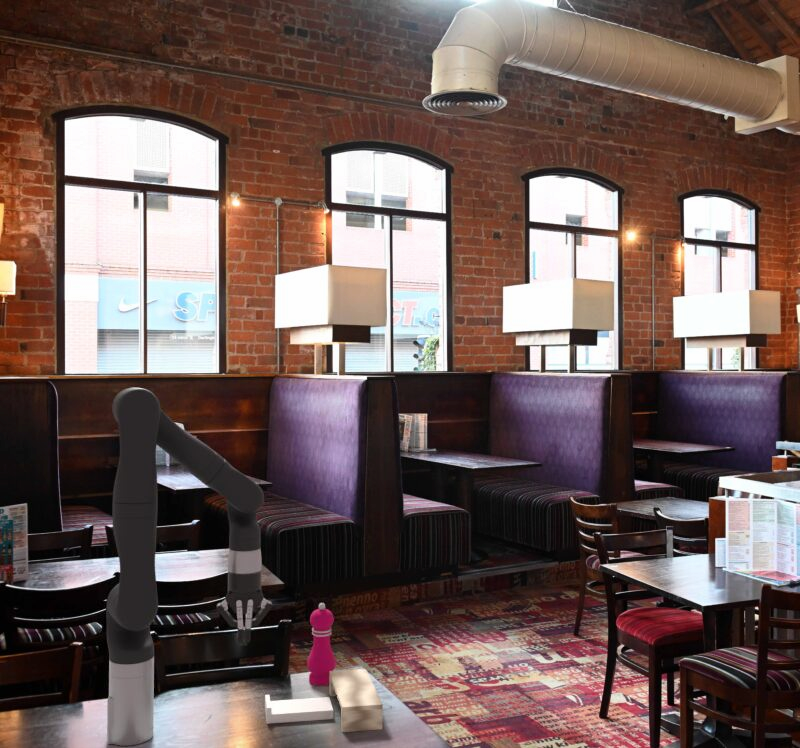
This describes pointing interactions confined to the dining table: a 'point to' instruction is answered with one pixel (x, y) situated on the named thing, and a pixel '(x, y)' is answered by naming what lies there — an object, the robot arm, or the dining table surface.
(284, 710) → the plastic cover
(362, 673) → the overhang shelf
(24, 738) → the dining table surface
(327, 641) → the pepper mill
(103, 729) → the dining table surface
